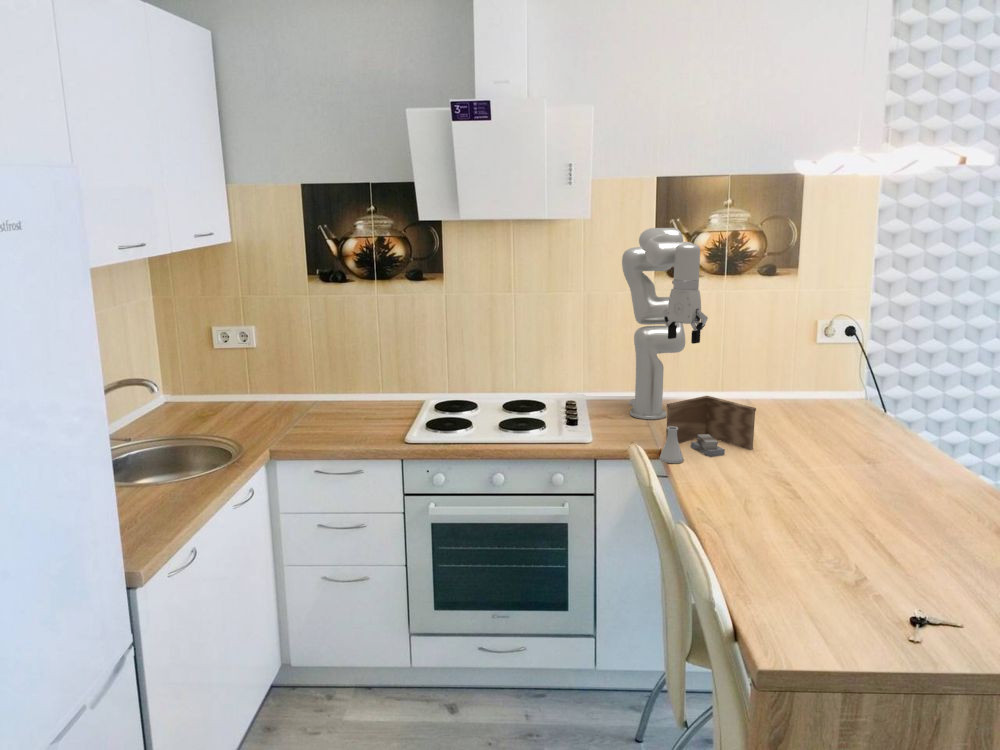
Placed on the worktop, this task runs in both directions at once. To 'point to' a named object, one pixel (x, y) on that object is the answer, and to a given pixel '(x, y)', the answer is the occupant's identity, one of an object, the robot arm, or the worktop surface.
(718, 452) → the tray
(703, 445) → the offcut top
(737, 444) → the brown wooden corner wall
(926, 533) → the worktop surface
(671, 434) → the flask
